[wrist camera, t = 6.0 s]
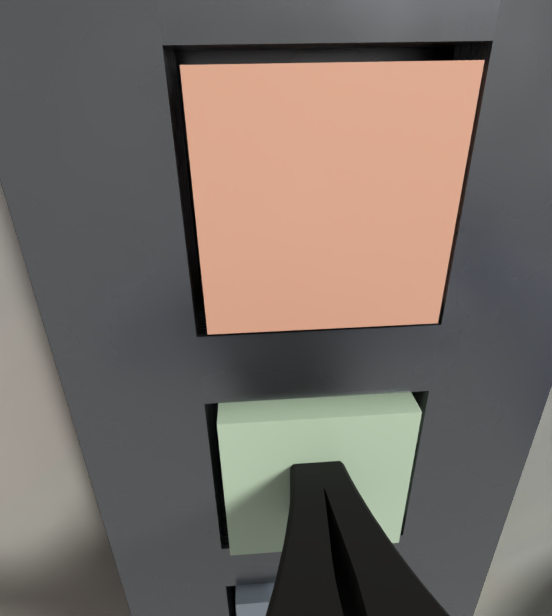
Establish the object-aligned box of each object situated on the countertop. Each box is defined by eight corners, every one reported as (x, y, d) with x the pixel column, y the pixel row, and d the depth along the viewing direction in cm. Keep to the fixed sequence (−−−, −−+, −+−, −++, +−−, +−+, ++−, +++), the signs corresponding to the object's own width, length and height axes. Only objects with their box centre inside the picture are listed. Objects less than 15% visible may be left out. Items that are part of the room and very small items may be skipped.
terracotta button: (419, 65, 10) (484, 60, 7) (395, 270, 12) (437, 323, 10) (196, 69, 10) (180, 65, 7) (215, 277, 12) (207, 334, 9)
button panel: (574, -13, 10) (700, -49, 7) (427, 591, 20) (454, 668, 18) (23, -9, 9) (-68, -47, 6) (167, 613, 20) (155, 696, 17)
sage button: (386, 346, 13) (421, 412, 11) (372, 464, 16) (399, 542, 13) (221, 354, 13) (216, 424, 10) (232, 473, 15) (230, 555, 13)
